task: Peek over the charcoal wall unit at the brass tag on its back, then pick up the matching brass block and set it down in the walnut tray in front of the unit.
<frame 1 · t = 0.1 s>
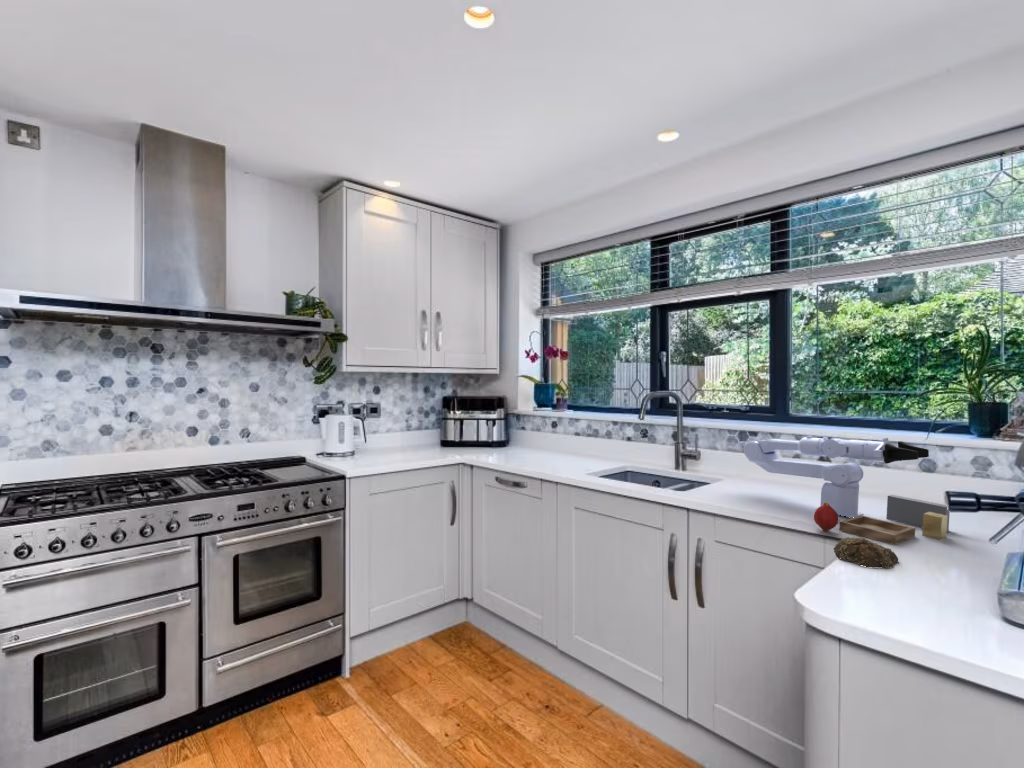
hand: (923, 454, 141), 22 cm above the countertop, tool horizontal, fingers open, 7 cm apart
bread roll: (863, 560, 120), on the countertop
brass block: (934, 536, 138), on the countertop
onion: (825, 531, 140), on the countertop
tray: (876, 533, 139), on the countertop
wall unit: (916, 524, 149), on the countertop
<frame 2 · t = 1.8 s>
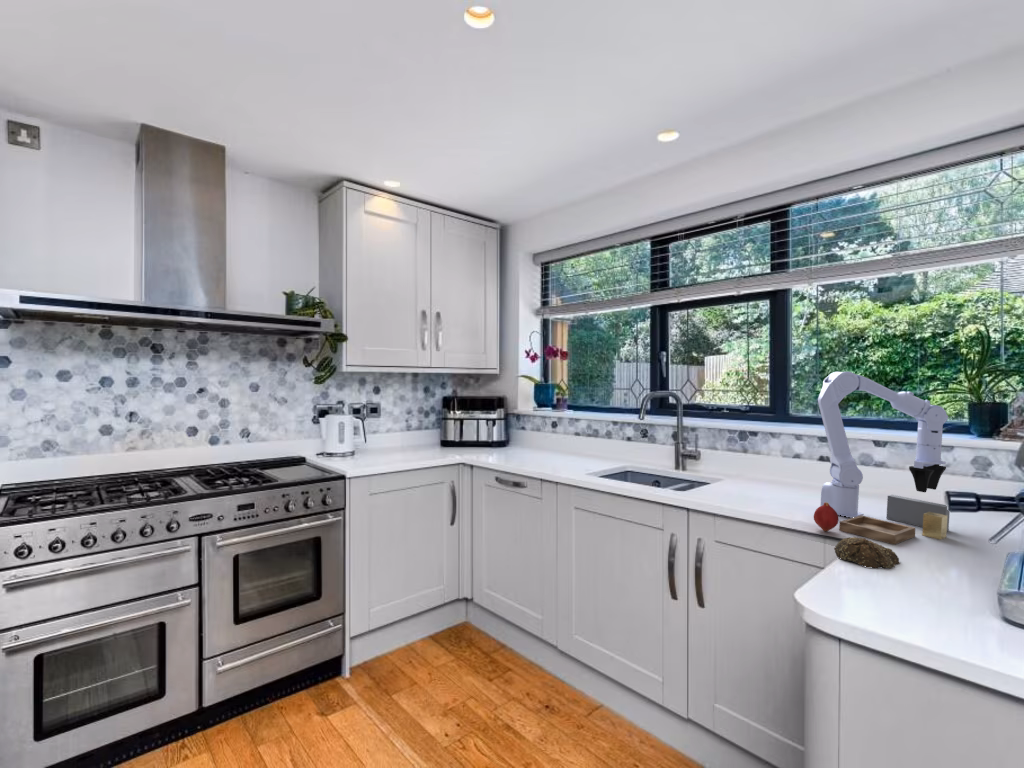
hand: (926, 490, 152), 9 cm above the countertop, tool pointing down, fingers open, 7 cm apart
nothing on the countertop moved.
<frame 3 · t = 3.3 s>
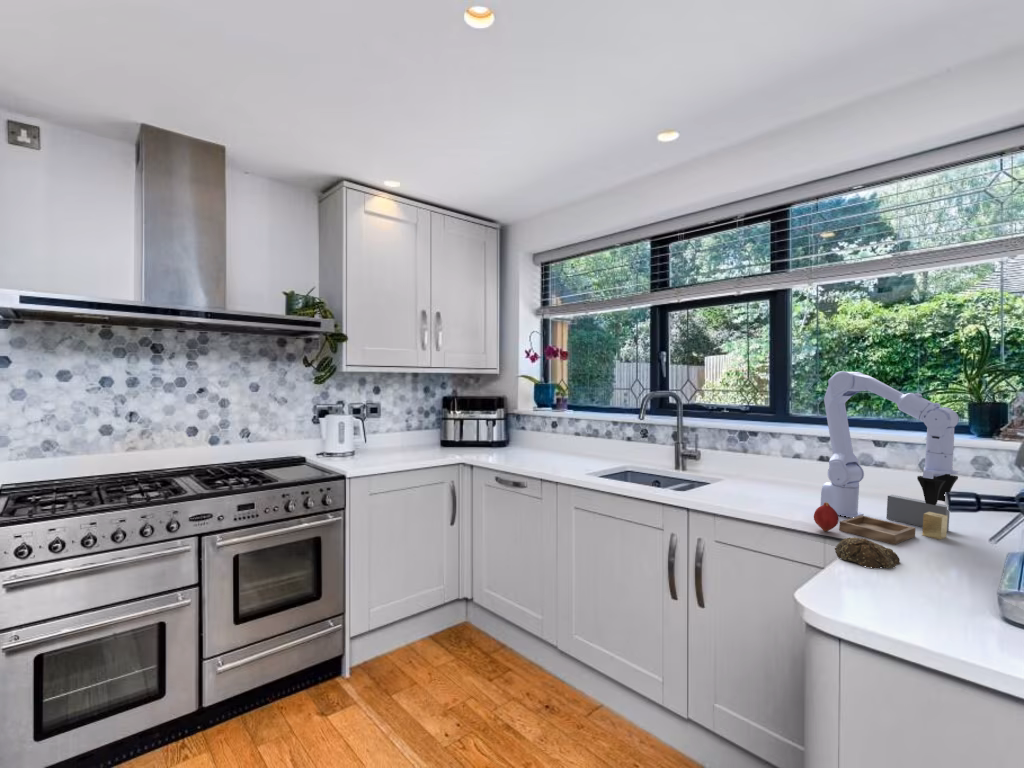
hand: (936, 502, 138), 9 cm above the countertop, tool pointing down, fingers open, 7 cm apart
nothing on the countertop moved.
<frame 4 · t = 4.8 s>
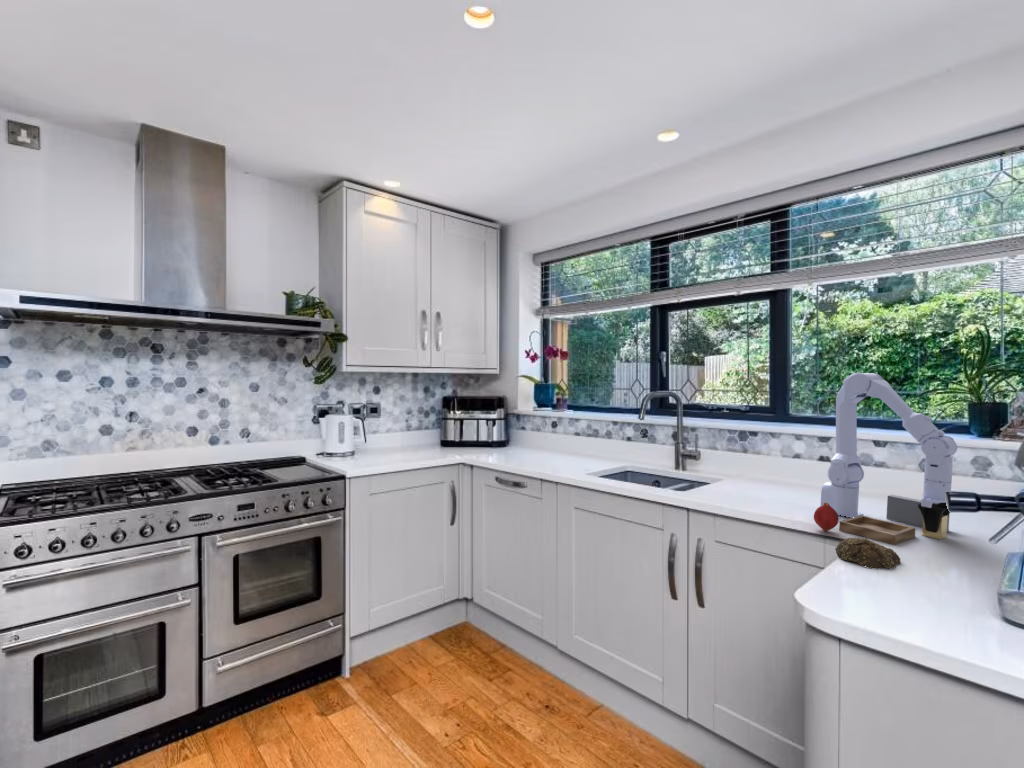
hand: (934, 530, 138), 2 cm above the countertop, tool pointing down, fingers closed on brass block, 4 cm apart
brass block: (934, 536, 138), on the countertop, touching gripper
everything else where it was.
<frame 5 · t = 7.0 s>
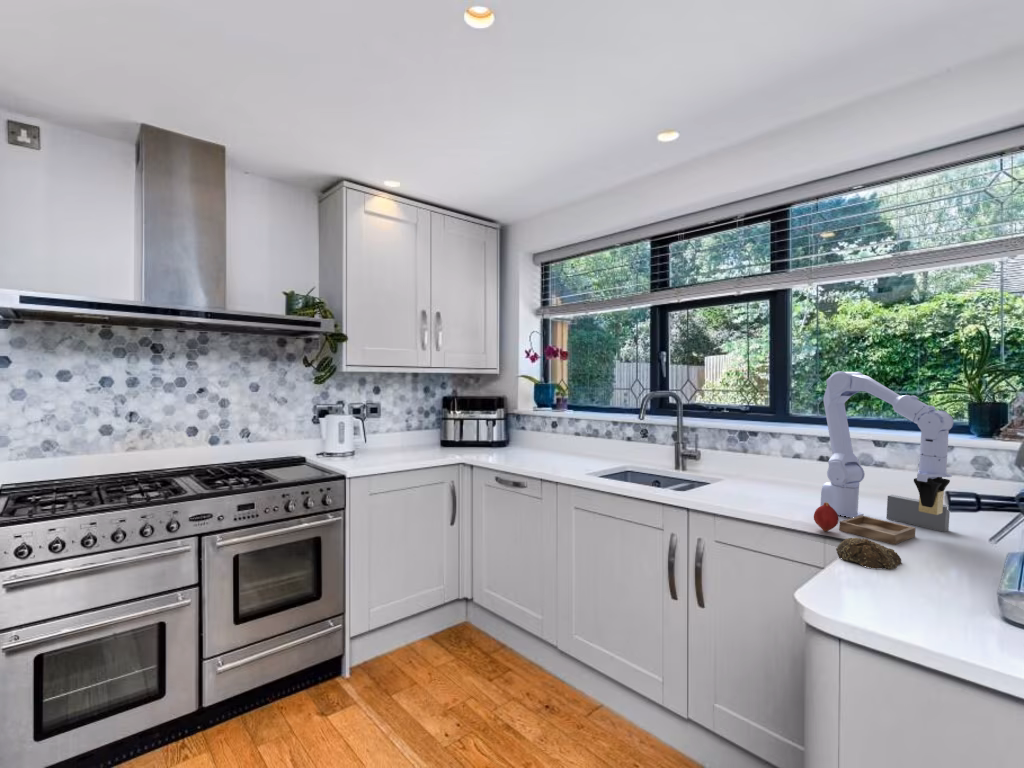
hand: (930, 505, 138), 8 cm above the countertop, tool pointing down, fingers closed on brass block, 4 cm apart
brass block: (930, 512, 138), point 7 cm above the countertop, touching gripper
everything else where it was.
when the fingers open (3 cm above the countertop, at t = 9.6 s): brass block stays where it is, resting on tray.
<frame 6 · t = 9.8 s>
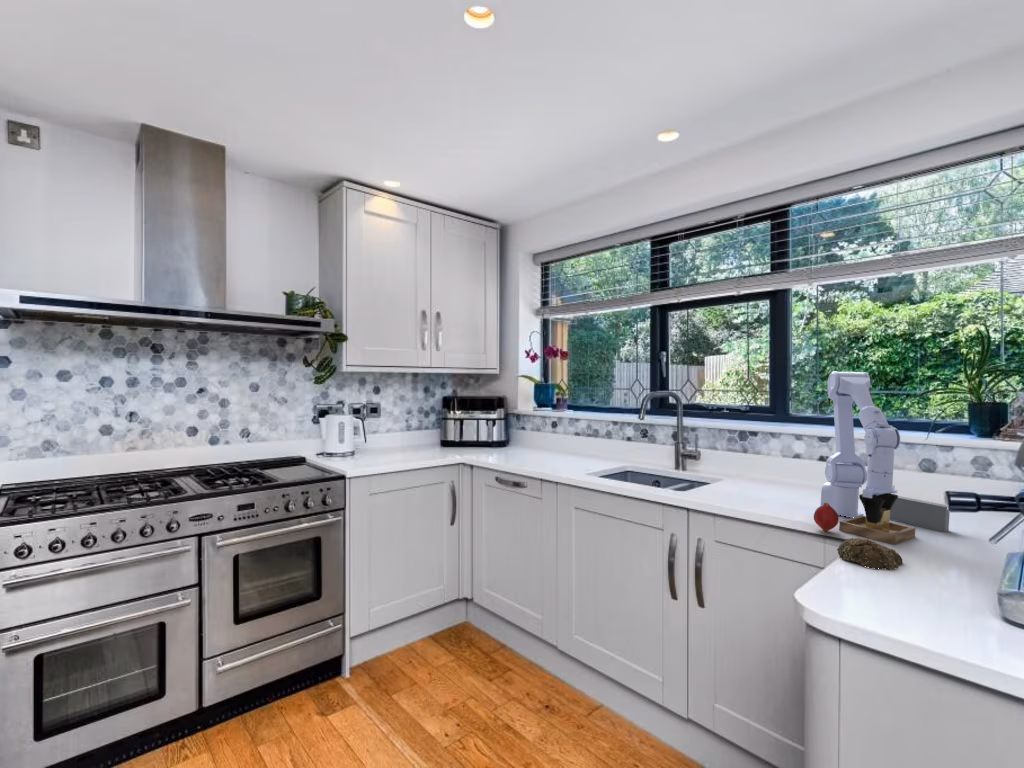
hand: (877, 521, 139), 3 cm above the countertop, tool pointing down, fingers open, 6 cm apart
brass block: (877, 530, 139), point 1 cm above the countertop, touching tray
everything else where it was.
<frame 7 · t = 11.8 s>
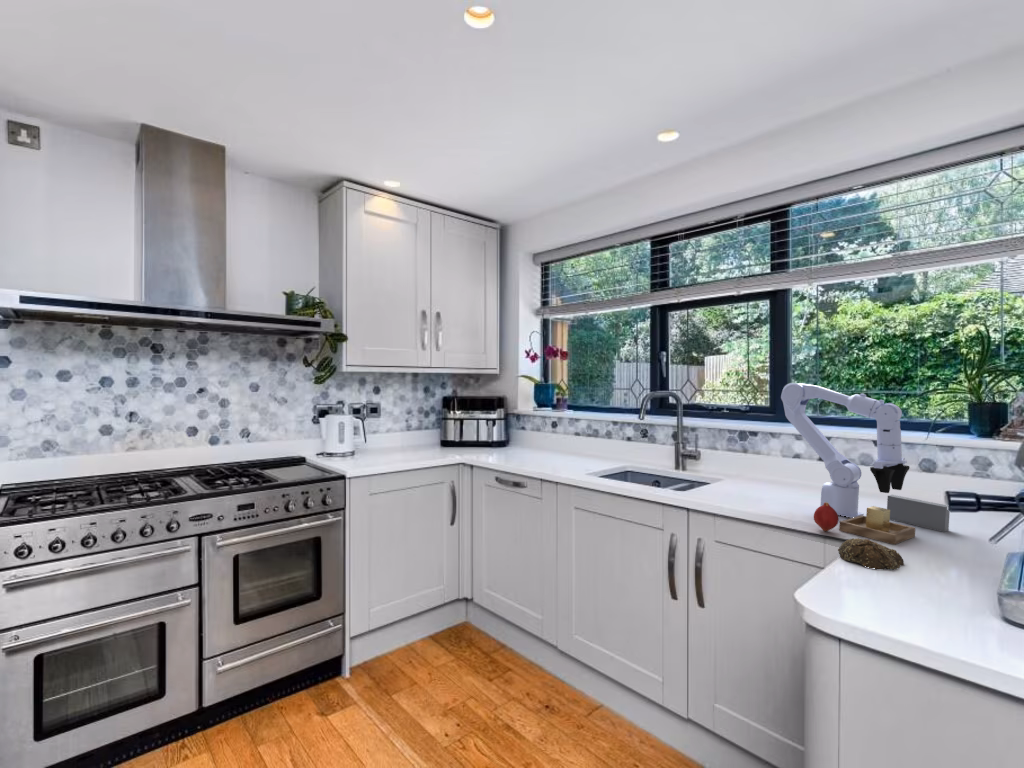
hand: (890, 491, 149), 9 cm above the countertop, tool pointing down, fingers open, 7 cm apart
nothing on the countertop moved.
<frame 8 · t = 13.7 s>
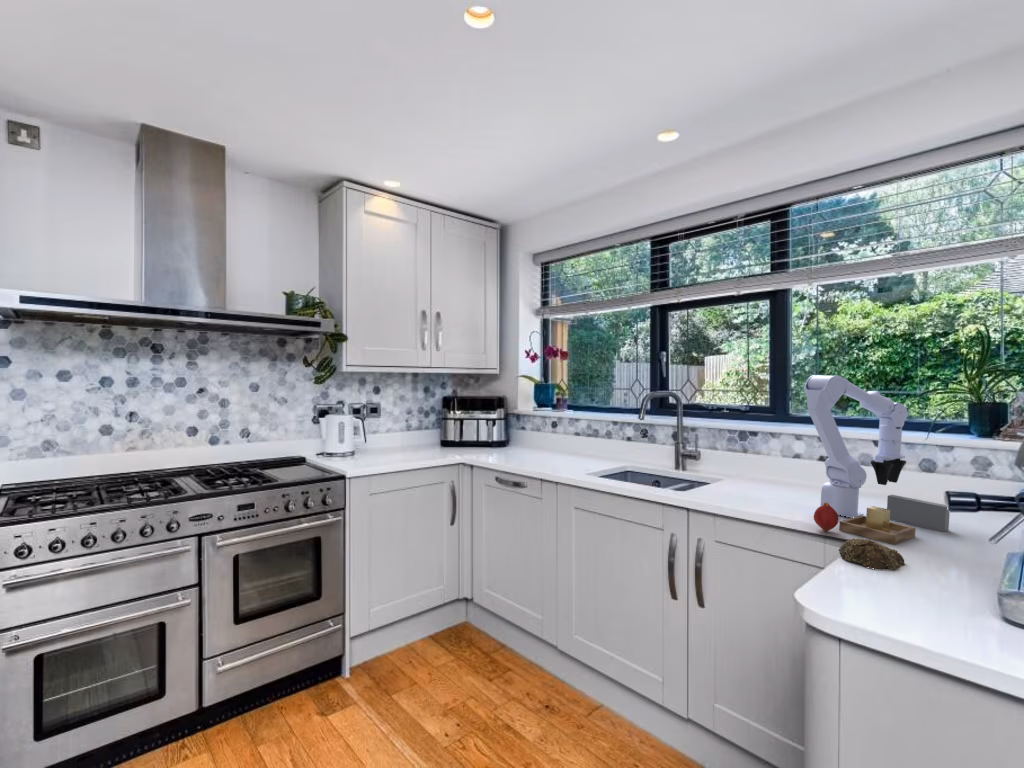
hand: (887, 483, 160), 9 cm above the countertop, tool pointing down, fingers open, 7 cm apart
at the end: brass block inside the target area on the tray (0.1 cm from its centre), point 0.8 cm above the tray's base; brass block tilted 0°; the gripper is holding nothing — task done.
